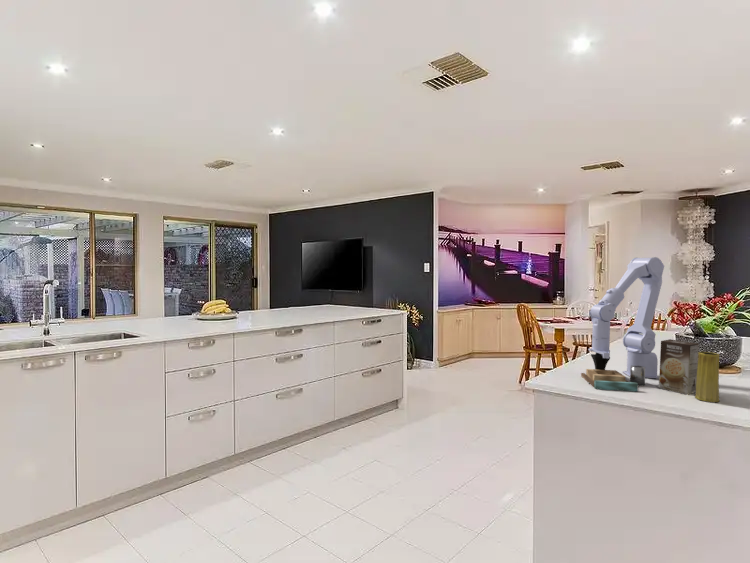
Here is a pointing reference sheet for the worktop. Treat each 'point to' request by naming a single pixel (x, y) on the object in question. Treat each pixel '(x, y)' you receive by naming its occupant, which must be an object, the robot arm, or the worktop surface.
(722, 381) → the worktop surface
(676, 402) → the worktop surface
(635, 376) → the cylinder
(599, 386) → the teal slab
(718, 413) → the worktop surface
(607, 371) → the wooden tray
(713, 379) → the vase
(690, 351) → the coffee box
